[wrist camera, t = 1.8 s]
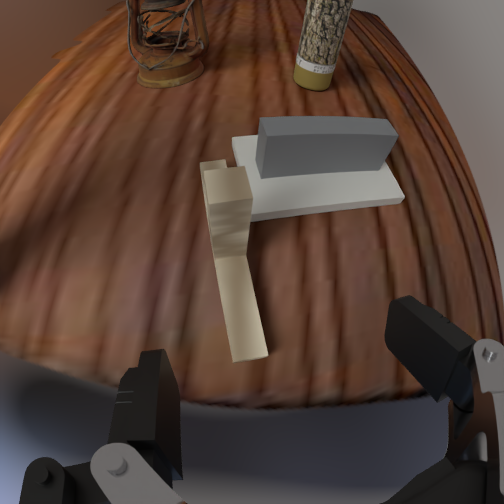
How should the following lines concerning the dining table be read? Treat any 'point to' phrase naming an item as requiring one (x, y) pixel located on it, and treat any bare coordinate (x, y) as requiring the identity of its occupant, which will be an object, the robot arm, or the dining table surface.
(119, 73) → the dining table surface
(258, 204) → the ridge stand
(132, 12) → the lantern
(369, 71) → the dining table surface
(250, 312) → the birch T-bar
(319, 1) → the bark print canister
